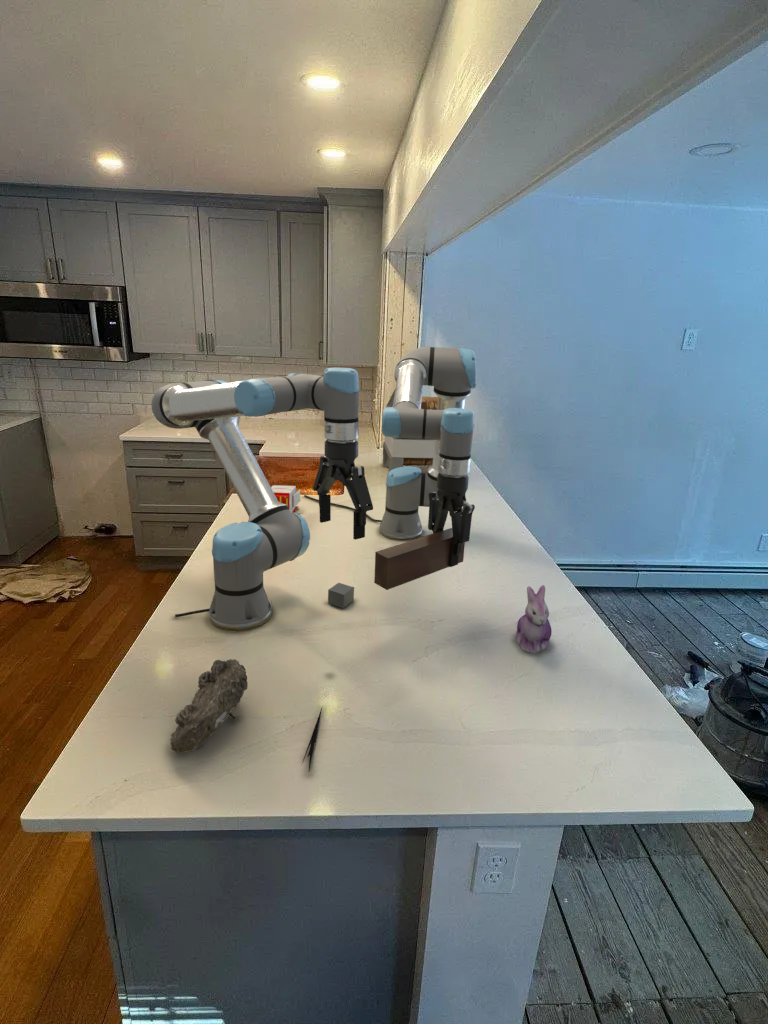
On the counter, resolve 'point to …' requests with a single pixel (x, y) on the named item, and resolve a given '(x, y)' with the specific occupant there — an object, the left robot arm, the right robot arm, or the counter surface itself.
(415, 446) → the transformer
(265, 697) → the counter surface
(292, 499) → the toy
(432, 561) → the walnut beam
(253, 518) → the left robot arm
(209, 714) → the fossil
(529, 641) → the figurine
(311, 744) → the feather
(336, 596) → the slate block
